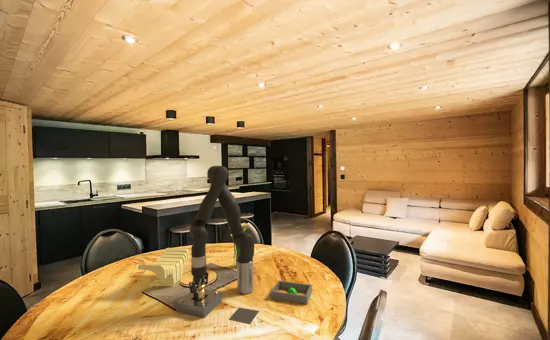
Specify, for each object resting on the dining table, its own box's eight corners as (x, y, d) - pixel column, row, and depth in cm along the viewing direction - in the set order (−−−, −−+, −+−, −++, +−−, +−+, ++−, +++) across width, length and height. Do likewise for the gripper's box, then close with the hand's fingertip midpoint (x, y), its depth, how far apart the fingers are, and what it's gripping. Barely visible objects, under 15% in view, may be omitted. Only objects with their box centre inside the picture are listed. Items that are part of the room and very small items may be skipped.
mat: (239, 308, 133) (238, 307, 133) (259, 311, 129) (259, 310, 129) (228, 320, 122) (228, 319, 122) (249, 324, 119) (249, 323, 119)
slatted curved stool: (165, 297, 146) (164, 265, 145) (139, 295, 148) (138, 264, 147) (189, 274, 175) (188, 248, 175) (167, 273, 177) (166, 247, 177)
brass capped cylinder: (198, 302, 137) (197, 281, 137) (208, 303, 136) (207, 282, 135) (191, 308, 132) (190, 286, 132) (201, 310, 130) (200, 288, 130)
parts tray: (278, 287, 155) (278, 280, 155) (312, 291, 148) (311, 284, 148) (270, 298, 142) (270, 291, 141) (307, 304, 135) (307, 296, 135)
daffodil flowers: (250, 271, 179) (249, 220, 178) (228, 272, 177) (227, 221, 177) (250, 262, 195) (249, 216, 195) (230, 263, 194) (229, 216, 194)
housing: (196, 298, 144) (195, 287, 144) (221, 302, 139) (221, 291, 139) (176, 313, 129) (176, 301, 129) (204, 319, 124) (204, 306, 123)
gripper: (200, 258, 141) (201, 289, 142) (183, 268, 128) (184, 302, 128) (212, 260, 139) (213, 291, 139) (196, 270, 125) (197, 305, 126)
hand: (199, 296), depth 134 cm, fingers closed on brass capped cylinder, 5 cm apart
